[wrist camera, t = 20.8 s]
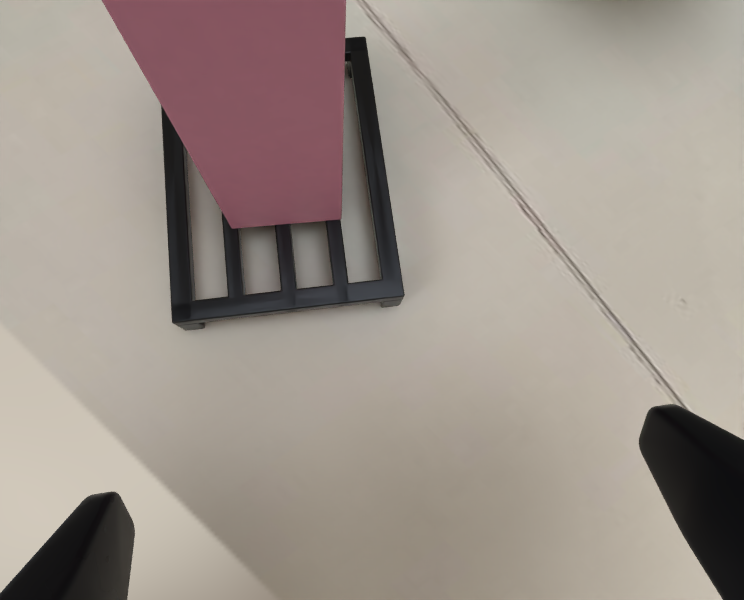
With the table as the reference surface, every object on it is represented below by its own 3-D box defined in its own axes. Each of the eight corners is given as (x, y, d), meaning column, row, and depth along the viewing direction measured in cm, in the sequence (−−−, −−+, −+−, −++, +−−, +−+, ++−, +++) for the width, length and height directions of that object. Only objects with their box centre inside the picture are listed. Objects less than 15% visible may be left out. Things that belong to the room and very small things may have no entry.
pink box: (341, 219, 20) (348, -96, 8) (231, 229, 20) (50, -87, 7) (329, 110, 22) (317, -324, 9) (224, 117, 21) (55, -327, 8)
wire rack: (399, 305, 22) (404, 296, 20) (185, 330, 21) (171, 323, 19) (363, 63, 24) (365, 36, 22) (171, 77, 23) (157, 49, 22)
